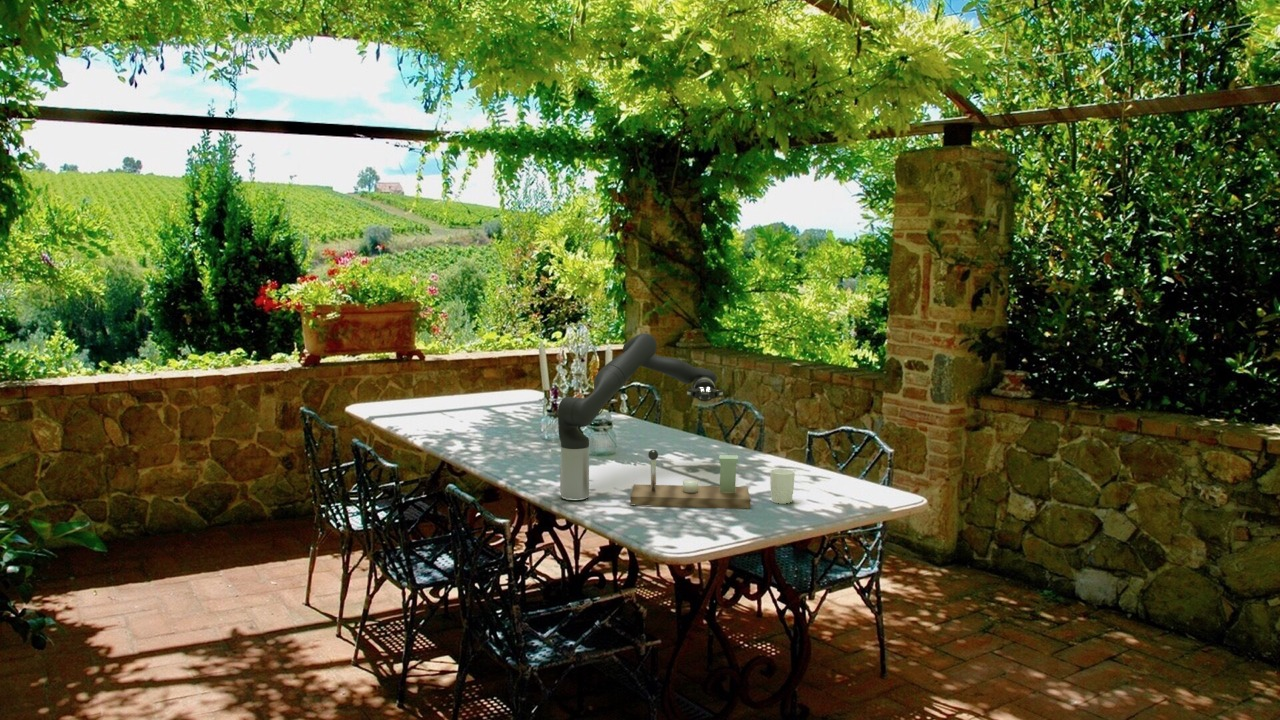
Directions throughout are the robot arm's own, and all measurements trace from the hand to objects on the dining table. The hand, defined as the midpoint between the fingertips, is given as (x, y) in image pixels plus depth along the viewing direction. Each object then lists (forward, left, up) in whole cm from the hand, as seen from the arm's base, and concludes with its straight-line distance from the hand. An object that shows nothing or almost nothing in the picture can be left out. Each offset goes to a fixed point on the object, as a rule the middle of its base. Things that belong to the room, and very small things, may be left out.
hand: (705, 396), depth 325 cm
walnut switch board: (+10, -13, -32) cm, 36 cm away
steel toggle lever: (+3, -22, -29) cm, 37 cm away
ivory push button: (+10, -13, -29) cm, 33 cm away
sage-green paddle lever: (+17, -3, -29) cm, 34 cm away
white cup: (+26, +13, -32) cm, 43 cm away
